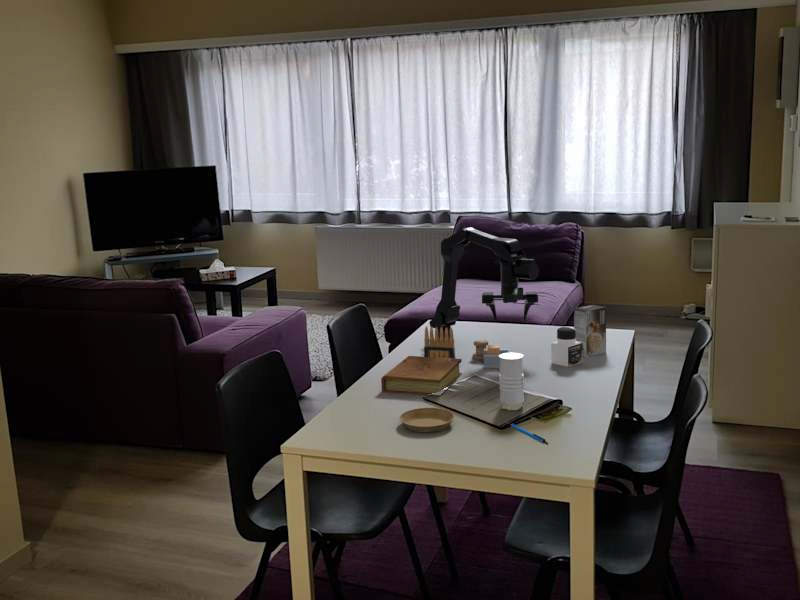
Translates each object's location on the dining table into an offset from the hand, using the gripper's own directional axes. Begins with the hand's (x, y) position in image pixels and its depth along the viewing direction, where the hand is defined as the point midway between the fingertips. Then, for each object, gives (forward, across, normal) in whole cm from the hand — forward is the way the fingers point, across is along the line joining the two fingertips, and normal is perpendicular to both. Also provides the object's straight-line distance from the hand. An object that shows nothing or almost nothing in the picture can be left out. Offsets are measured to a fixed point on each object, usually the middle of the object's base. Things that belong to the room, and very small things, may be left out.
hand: (510, 322), depth 289 cm
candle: (+12, -1, -53) cm, 54 cm away
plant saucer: (+12, -24, -67) cm, 72 cm away
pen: (+12, +2, -73) cm, 74 cm away
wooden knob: (+12, -10, -1) cm, 16 cm away
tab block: (+11, -6, -9) cm, 15 cm away
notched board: (+12, -5, -9) cm, 16 cm away
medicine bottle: (+12, +18, -9) cm, 24 cm away
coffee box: (+12, +27, +3) cm, 30 cm away
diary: (+13, -28, -29) cm, 42 cm away
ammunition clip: (+12, -24, -4) cm, 27 cm away
